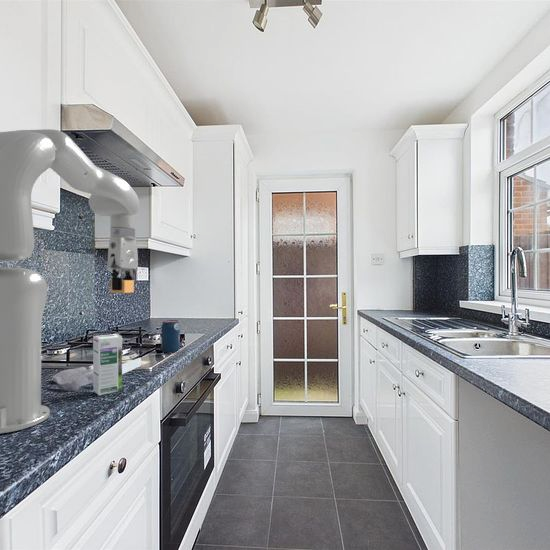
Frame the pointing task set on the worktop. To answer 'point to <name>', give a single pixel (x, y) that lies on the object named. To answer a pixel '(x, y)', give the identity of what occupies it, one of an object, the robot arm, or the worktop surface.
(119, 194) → the robot arm
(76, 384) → the stone block
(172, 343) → the soda can
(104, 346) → the syrup box
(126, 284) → the orange block
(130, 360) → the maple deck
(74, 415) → the worktop surface
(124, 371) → the channel walls
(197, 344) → the worktop surface
